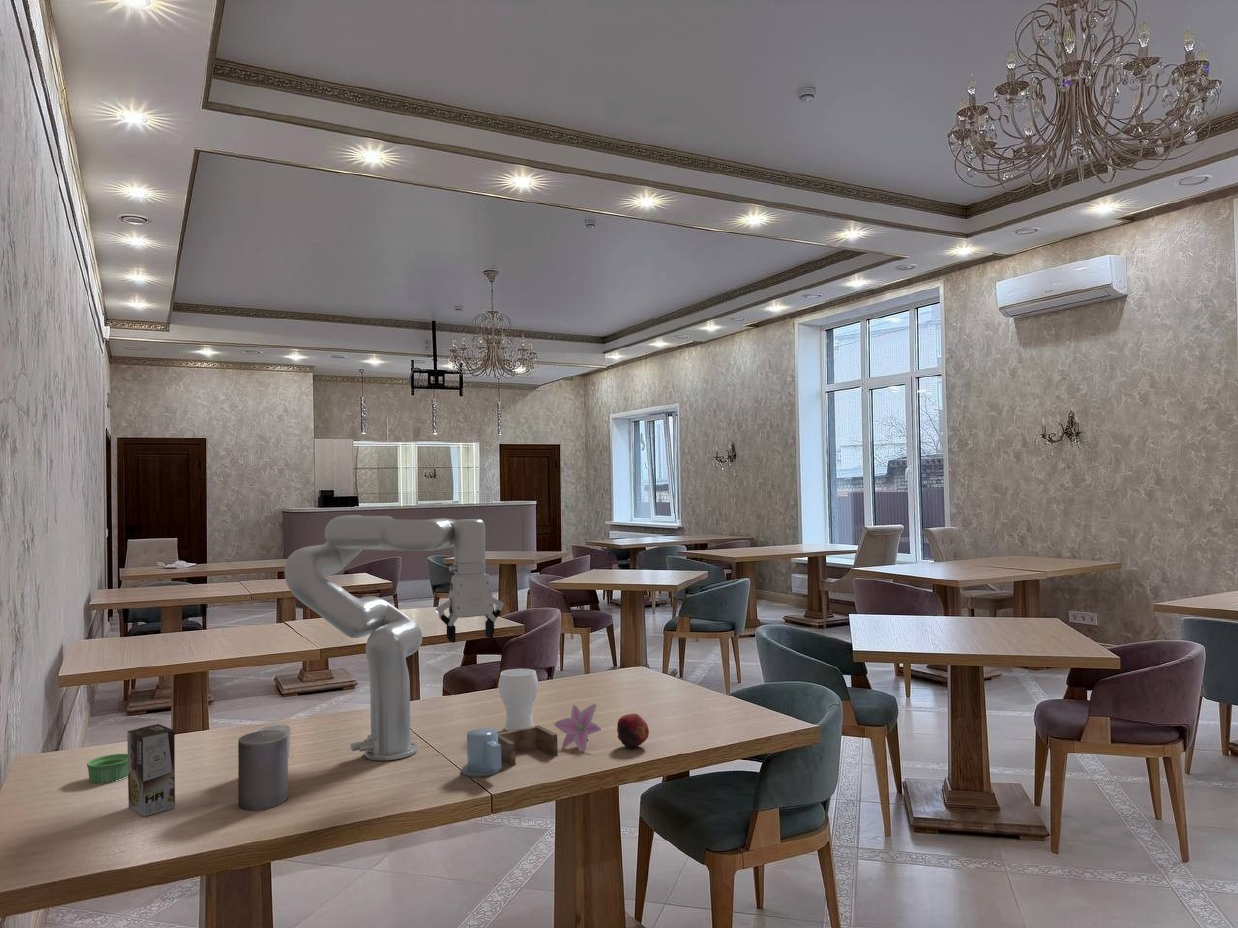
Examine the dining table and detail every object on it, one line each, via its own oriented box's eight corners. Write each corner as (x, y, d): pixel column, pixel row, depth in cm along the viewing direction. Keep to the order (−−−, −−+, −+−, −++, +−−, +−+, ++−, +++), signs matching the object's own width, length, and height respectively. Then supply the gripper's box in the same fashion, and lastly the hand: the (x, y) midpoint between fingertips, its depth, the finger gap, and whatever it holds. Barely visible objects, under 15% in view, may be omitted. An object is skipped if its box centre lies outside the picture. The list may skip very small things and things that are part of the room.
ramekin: (92, 775, 194) (91, 756, 195) (135, 769, 198) (135, 751, 198) (82, 787, 186) (82, 767, 186) (128, 781, 189) (128, 762, 189)
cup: (536, 733, 218) (535, 675, 218) (496, 734, 218) (495, 677, 218) (541, 722, 228) (539, 667, 229) (503, 722, 229) (501, 668, 229)
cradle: (510, 765, 192) (510, 743, 192) (493, 755, 200) (493, 734, 201) (557, 755, 199) (557, 734, 199) (539, 745, 207) (538, 725, 207)
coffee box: (176, 808, 171) (175, 729, 172) (142, 817, 167) (142, 737, 167) (160, 798, 177) (159, 722, 178) (127, 807, 173) (126, 729, 173)
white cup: (251, 780, 187) (251, 735, 188) (257, 769, 195) (256, 726, 195) (288, 776, 190) (288, 732, 190) (292, 765, 197) (292, 723, 197)
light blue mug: (483, 781, 180) (482, 744, 180) (463, 766, 190) (462, 731, 190) (512, 774, 184) (511, 738, 184) (491, 760, 194) (490, 726, 194)
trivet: (471, 779, 183) (471, 776, 183) (456, 769, 191) (456, 765, 191) (508, 771, 188) (508, 767, 188) (492, 761, 196) (492, 757, 196)
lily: (552, 744, 211) (544, 717, 207) (589, 719, 216) (582, 692, 212) (578, 770, 202) (571, 742, 197) (616, 743, 207) (609, 715, 203)
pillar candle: (231, 802, 174) (230, 730, 174) (277, 789, 181) (276, 720, 181) (249, 814, 167) (248, 740, 167) (296, 801, 174) (295, 729, 174)
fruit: (654, 744, 205) (653, 712, 205) (639, 753, 198) (638, 720, 198) (627, 740, 209) (626, 709, 209) (611, 749, 202) (610, 716, 202)
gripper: (441, 572, 195) (442, 645, 194) (508, 568, 204) (509, 637, 203) (430, 570, 201) (431, 641, 200) (496, 566, 210) (497, 633, 209)
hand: (470, 639), depth 202 cm, fingers open, 9 cm apart
